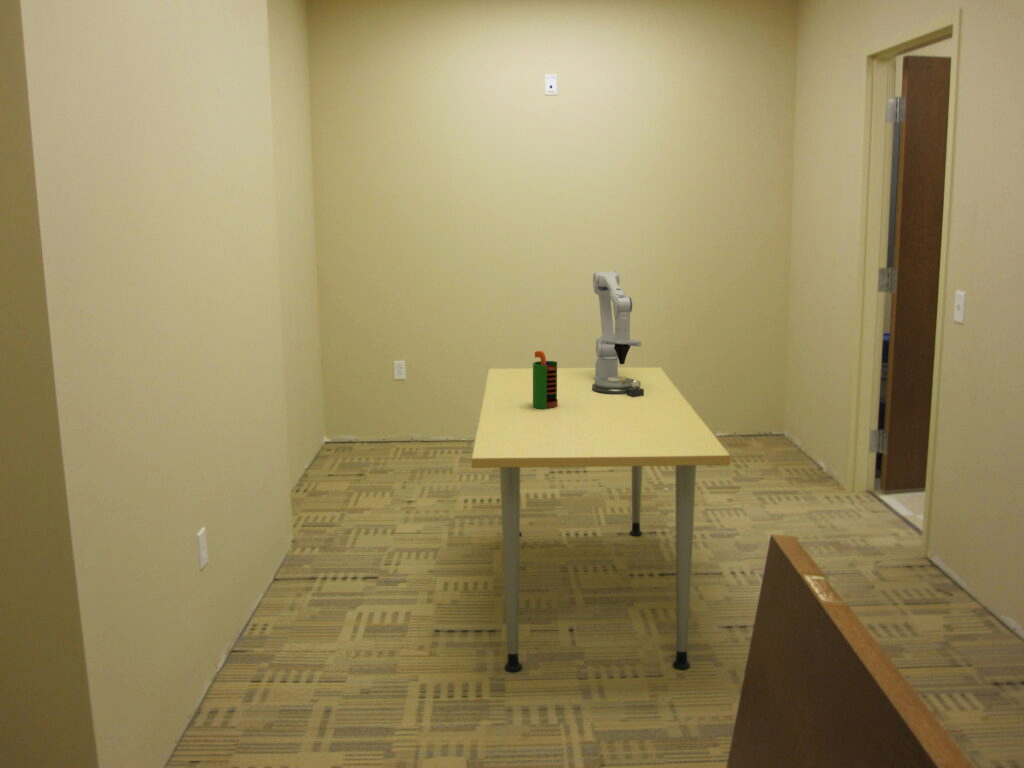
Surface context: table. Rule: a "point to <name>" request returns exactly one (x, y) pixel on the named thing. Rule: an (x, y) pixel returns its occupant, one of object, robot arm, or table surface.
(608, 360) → the robot arm
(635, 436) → the table surface
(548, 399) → the motor
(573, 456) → the table surface
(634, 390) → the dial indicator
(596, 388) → the plinth
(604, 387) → the disc
